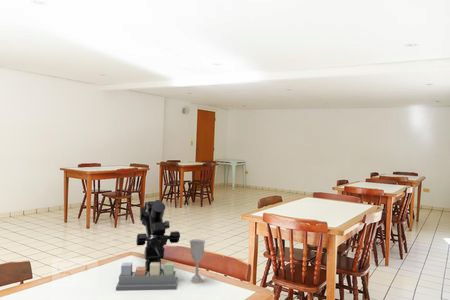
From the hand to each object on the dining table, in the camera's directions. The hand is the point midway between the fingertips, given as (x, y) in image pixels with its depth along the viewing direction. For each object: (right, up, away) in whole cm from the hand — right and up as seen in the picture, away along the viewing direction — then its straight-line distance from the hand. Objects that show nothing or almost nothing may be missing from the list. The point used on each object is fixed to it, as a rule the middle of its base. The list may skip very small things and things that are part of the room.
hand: (160, 255), depth 159 cm
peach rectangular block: (-8, -11, 0) cm, 14 cm away
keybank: (-6, -13, +1) cm, 14 cm away
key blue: (-14, -9, 0) cm, 17 cm away
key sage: (+4, -9, +1) cm, 10 cm away
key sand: (-2, -9, +1) cm, 10 cm away
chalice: (+15, -13, +6) cm, 21 cm away
